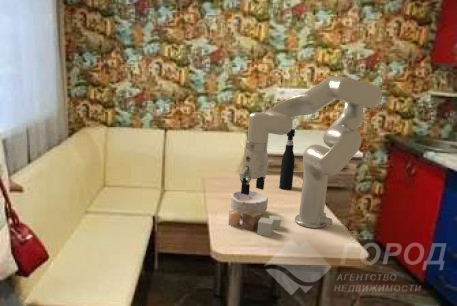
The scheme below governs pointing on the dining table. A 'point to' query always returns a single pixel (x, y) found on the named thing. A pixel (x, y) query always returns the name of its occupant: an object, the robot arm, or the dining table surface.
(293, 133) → the wine bottle
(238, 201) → the paper bowls
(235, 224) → the cylinder
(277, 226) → the sage cube
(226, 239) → the dining table surface
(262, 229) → the grey cube
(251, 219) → the walnut block
